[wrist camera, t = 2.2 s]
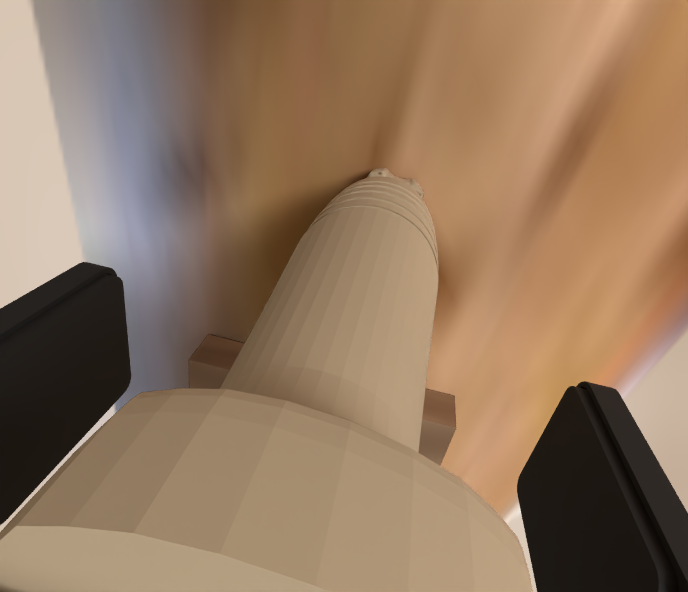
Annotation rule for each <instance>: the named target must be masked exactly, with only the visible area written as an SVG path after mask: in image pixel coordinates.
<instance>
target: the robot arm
mask: <svg viewBox="0 0 688 592" xmlns="http://www.w3.org/2000/svg"><path fill="white" fill-rule="evenodd" d="M130 379H131V370H130V358H129V347H128V335H127V324H126V312H125V301H124V289H123V282H122V280H121V278H119V277H117V274H116V272H115V271H114V270H113V269H112V268H108V267H104V266H100V265H96V264H92V263H88V262H82V263H80V264H78V265H76V266H74V267H72V268H71V269H69V270H67V271H65V272H64V273H62V274H60V275H58V276H57V277H55V278H53V279H51V280H50V281H48V282H46V283H45V284H43V285H41V286H39V287H37V288H36V289H34V290H32V291H30V292H29V293H27V294H25V295H24V296H22V297H20V298H18V299H17V300H15V301H13V302H11V303H10V304H8V305H6V306H4V307H3V308H1V309H0V525H1V524H2V523H4V522H5V521H6V520H7V519H8V518H9V517H10V515H12V513H13V512H14V511H15V510H16V509H17V508H18V507H19V506H20V505H21V504H22V503H23V501H24V500H25V499H26V498H27V497H28V496H29V495H30V494H31V493H32V492H33V491H34V490H35V488H37V486H38V485H39V484H40V483H41V482H42V481H43V480H44V479H45V478H46V477H47V475H49V473H50V472H51V471H52V470H53V469H54V468H55V467H56V466H57V465H58V464H59V463H60V462H61V460H62V459H63V458H64V457H65V456H66V455H67V454H68V453H69V451H71V450H72V448H74V446H75V445H76V444H77V443H78V442H79V441H80V440H81V439H82V438H83V437H84V436H85V435H86V433H87V432H88V431H89V430H90V429H91V428H92V427H93V426H94V425H95V424H96V423H97V422H98V420H99V419H100V418H101V417H102V416H103V415H104V414H105V413H106V412H107V411H108V410H109V409H110V408H111V406H112V405H113V404H114V403H115V402H116V401H117V400H118V399H119V398H120V397H121V396H122V395H123V393H124V392H125V391H126V390H127V388H128V386H129V383H130ZM517 493H518V499H519V504H520V509H521V514H522V519H523V524H524V528H525V533H526V538H527V543H528V548H529V553H530V558H531V562H532V568H533V573H534V578H535V582H536V588H537V592H688V513H687V511H686V509H685V508H684V506H683V504H682V502H681V501H680V499H679V497H678V496H677V494H676V492H675V490H674V488H673V487H672V485H671V483H670V482H669V480H668V478H667V476H666V474H665V473H664V471H663V469H662V468H661V466H660V464H659V462H658V461H657V459H656V457H655V455H654V454H653V452H652V450H651V448H650V446H649V445H648V443H647V441H646V440H645V438H644V436H643V434H642V433H641V431H640V429H639V427H638V426H637V424H636V422H635V420H634V419H633V417H632V415H631V413H630V412H629V410H628V408H627V406H626V405H625V403H624V401H623V399H622V398H621V396H620V394H619V393H618V391H617V390H616V389H613V388H610V387H606V386H602V385H598V384H593V383H589V382H585V381H584V382H581V383H579V384H578V385H577V386H576V387H574V386H570V387H569V388H568V389H567V390H566V391H565V393H564V395H563V397H562V399H561V401H560V402H559V404H558V406H557V408H556V410H555V412H554V413H553V415H552V417H551V419H550V421H549V423H548V424H547V426H546V428H545V430H544V432H543V434H542V435H541V437H540V439H539V441H538V443H537V445H536V446H535V448H534V450H533V452H532V454H531V456H530V457H529V459H528V461H527V463H526V465H525V467H524V468H523V470H522V472H521V474H520V476H519V479H518V484H517Z"/></svg>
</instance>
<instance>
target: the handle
mask: <svg viewBox="0 0 688 592" xmlns="http://www.w3.org/2000/svg"><path fill="white" fill-rule="evenodd" d="M422 197H423V189H422V188H421V186H420V185H419V184H418V183H417V182H416V181H415V180H414V179H403V178H399V177H397V176H395V175H393V174H391V173H390V172H389V171H388V169H386V168H378V169H374V170H372V171H371V172H370V173H369V175H368V177H367V178H365V179H362V180H359V181H357V182H355V183H353V184H352V185H350V186H348V187H347V188H345V189H344V190H343V191H342V192H340V193H339V194H338V195H337V196H335V197H334V198H333V199H332V200H331V202H330V203H329V204H328V205H327V206H326V207H325V208H324V209H323V210H322V211H321V212H320V214H319V215H318V216H317V217H316V219H315V220H314V221H313V223H312V224H311V225H310V227H309V228H308V229H307V231H306V232H305V234H304V235H303V236H302V238H301V240H300V241H299V243H298V245H297V246H296V248H295V250H294V252H293V254H292V256H291V258H290V260H289V262H288V263H287V265H286V267H285V269H284V271H283V273H282V275H281V277H280V279H279V280H278V282H277V284H276V286H275V288H274V290H273V292H272V294H271V296H270V298H269V299H268V301H267V303H266V305H265V307H264V309H263V311H262V313H261V315H260V316H259V318H258V320H257V322H256V324H255V325H254V327H253V329H252V331H251V333H250V335H249V336H248V338H247V340H246V342H245V344H244V346H243V347H242V349H241V351H240V353H239V355H238V357H237V358H236V360H235V362H234V364H233V366H232V368H231V369H230V371H229V373H228V375H227V377H226V378H225V380H224V382H223V384H222V386H221V388H220V389H191V388H179V389H169V390H160V391H150V392H141V393H140V394H138V395H137V396H135V397H134V398H132V399H131V400H130V401H129V402H128V403H127V404H125V405H124V406H123V407H122V408H121V409H120V410H119V411H118V412H117V413H115V414H114V415H113V416H112V417H111V418H110V419H109V420H108V421H107V422H106V423H105V424H104V425H103V426H101V427H100V429H98V430H97V431H96V432H95V433H94V434H93V435H92V436H91V437H90V438H89V439H88V440H87V441H86V442H85V443H84V444H83V445H82V446H81V447H80V448H79V449H77V450H76V451H75V452H74V453H73V454H72V456H71V457H70V458H69V459H68V460H67V461H66V462H65V463H64V464H63V465H62V466H61V467H60V468H59V469H58V471H57V472H56V473H55V474H54V475H53V476H52V477H51V478H50V479H49V480H48V481H47V482H46V484H44V486H43V487H42V488H41V489H40V490H39V491H38V492H37V493H36V494H35V495H34V496H33V497H32V499H30V501H29V502H28V503H27V504H26V505H25V506H24V507H23V508H22V509H21V510H20V511H19V512H18V514H16V516H15V517H14V518H13V519H12V520H11V521H10V522H9V523H8V524H7V526H6V527H5V528H4V529H3V530H2V531H1V532H0V592H533V590H532V585H531V579H530V574H529V570H528V567H527V563H526V560H525V556H524V553H523V549H522V547H521V544H520V542H519V540H518V538H517V536H516V535H515V533H514V532H513V531H512V530H511V529H510V527H509V526H508V525H507V524H506V522H505V521H504V520H503V519H502V518H501V516H500V515H499V514H498V513H497V512H496V510H495V509H494V508H493V507H492V506H491V505H490V504H488V503H487V502H486V501H485V500H484V499H483V498H482V497H481V496H480V495H479V494H477V493H476V492H475V491H474V490H473V489H472V488H471V487H470V486H469V485H468V484H467V483H465V482H464V481H463V480H462V479H461V478H459V477H457V476H456V475H454V474H453V473H451V472H449V471H448V470H446V469H444V468H443V467H441V466H439V465H438V464H436V463H435V462H433V461H431V460H430V459H428V458H426V457H425V456H423V455H421V454H420V453H418V452H419V443H420V433H421V424H422V415H423V406H424V397H425V388H426V379H427V370H428V361H429V353H430V346H431V338H432V330H433V322H434V314H435V306H436V298H437V290H438V250H437V242H436V236H435V229H434V225H433V222H432V218H431V215H430V212H429V210H428V208H427V206H426V204H425V202H424V201H423V199H422Z"/></svg>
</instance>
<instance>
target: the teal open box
mask: <svg viewBox="0 0 688 592" xmlns="http://www.w3.org/2000/svg"><path fill="white" fill-rule="evenodd" d="M244 344H245V343H241V342H237V341H233V340H229V339H225V338H221V337H217V336H213V335H209V334H208V336H207V337H206V338H205V340H204V341H203V342H202V343H201V345H200V346H199V347H198V348H197V350H196V351H195V352H194V353H193V355H192V356H191V357H190V359H189V388H191V389H220V388H221V386H222V384H223V382H224V380H225V378H226V377H227V375H228V373H229V371H230V369H231V368H232V366H233V364H234V362H235V360H236V358H237V357H238V355H239V353H240V351H241V349H242V347H243V346H244ZM455 430H456V413H455V396H453V395H449V394H445V393H441V392H437V391H433V390H429V389H425V397H424V406H423V415H422V424H421V433H420V443H419V452H418V453H420V454H421V455H423V456H425V457H426V458H428V459H430V460H431V461H433V462H435V463H436V464H438V465H439V466H440V465H441V463H442V460H443V458H444V456H445V453H446V451H447V449H448V446H449V444H450V442H451V439H452V437H453V434H454V432H455Z"/></svg>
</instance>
